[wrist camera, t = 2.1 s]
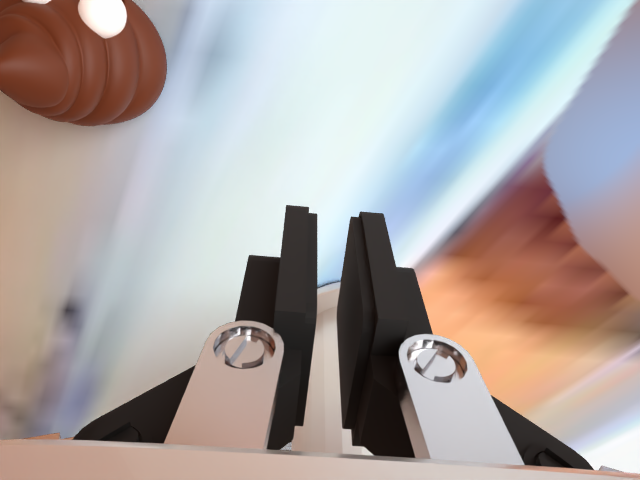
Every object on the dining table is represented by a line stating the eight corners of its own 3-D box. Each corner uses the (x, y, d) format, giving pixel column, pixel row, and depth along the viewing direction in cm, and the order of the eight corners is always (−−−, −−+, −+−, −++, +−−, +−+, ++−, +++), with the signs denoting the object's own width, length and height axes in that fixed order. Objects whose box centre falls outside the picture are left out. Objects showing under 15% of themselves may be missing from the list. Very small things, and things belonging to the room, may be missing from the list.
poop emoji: (-9, 69, 32) (-120, 116, 24) (15, -77, 28) (-108, -79, 20) (148, 138, 34) (97, 202, 26) (191, 13, 30) (146, 43, 22)
